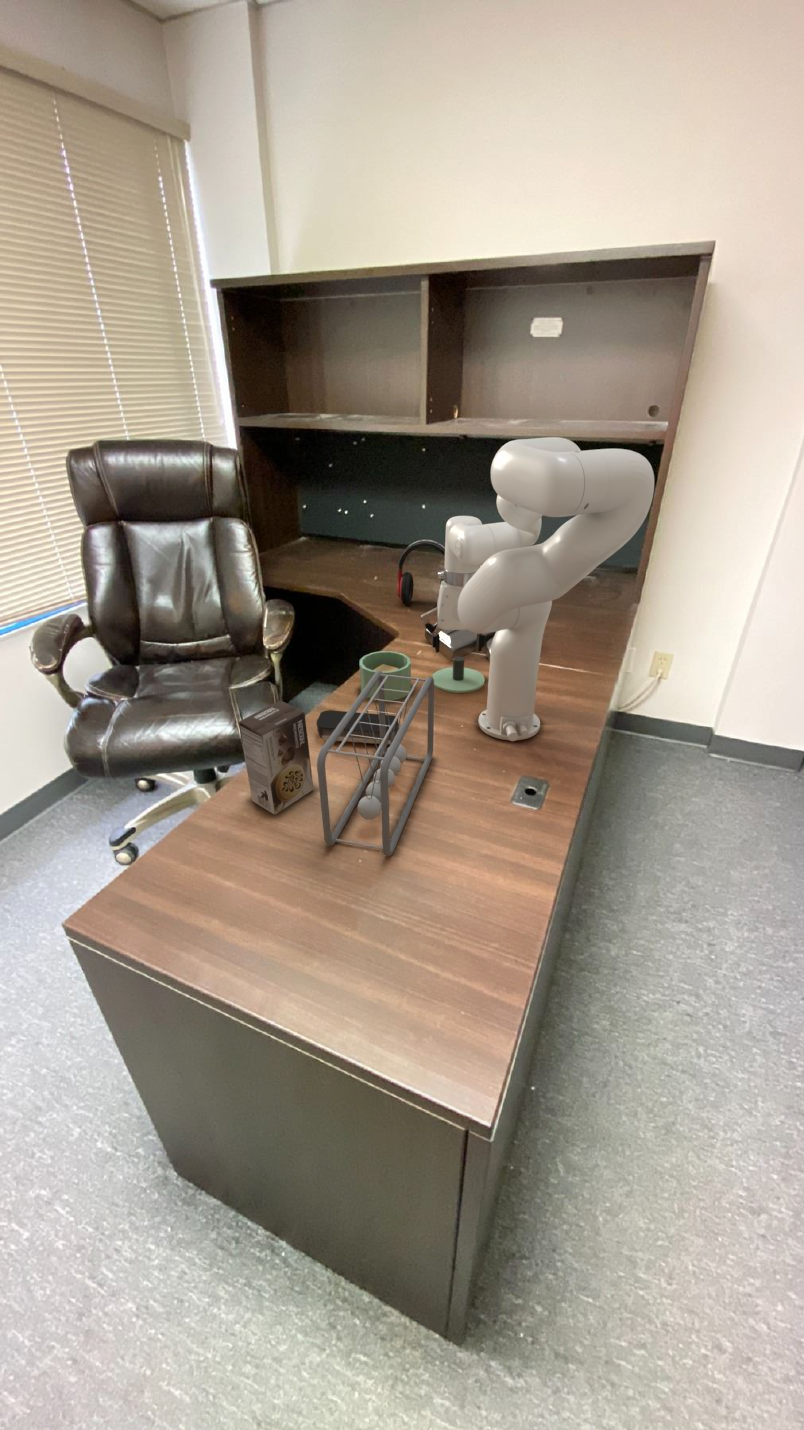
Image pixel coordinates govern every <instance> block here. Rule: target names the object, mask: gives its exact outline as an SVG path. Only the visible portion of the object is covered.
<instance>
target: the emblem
mask: <svg viewBox="0 0 804 1430" xmlns="http://www.w3.org/2000/svg"><path fill="white" fill-rule="evenodd" d="M432 625H433V626H434V625H435V624H432ZM495 633H496V631H495V632H490V633H487V634H486V635H485V642H484V646H482V648H484V647H485V655H486V658H487V659H488V662H490V654H491V645H492V641H493V638H494V636H495ZM439 636H440V646H439V653H441V654H442V656H443V657H445V658H446V659H447V660H449V662H453V658H454V657H463V658H464V657H465V656H467V655H469V654H471V653H473V652H476V651H478V649H477V647H476V643H477V634H476V633H472V632H470V631H469V630H443V629H442V631H441V632H440V633H439ZM432 637H433V635H432V634H431V633H430V632H429V631H428V630H427V629H426V628H425V630H424V638H425V640H426V641H427V642H428V643H429V644H430V645H432Z"/></svg>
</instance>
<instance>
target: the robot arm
mask: <svg viewBox="0 0 804 1430" xmlns="http://www.w3.org/2000/svg"><path fill="white" fill-rule="evenodd" d="M490 482H491V485H492V488H493V490H494V491H495V493H496V494H497V495H496V508H497V512H498V514H499V515H500V517H501V519H502V520H503V521H501V522H493V523H485V524H484V523H482V521H481V519H479V518H478V517H475V516H472V515H457V516H451V517H450V518H449V519H448V520H446V524H445V539H444V540H445V541H444V546H445V556H444V564H443V565H444V567H443V569H442V570H441V571H437V572H436V573H437V575H436V576H437V579H440V580H441V579H443V580H444V581H442V582H441V585H440V584H439V589H438V594H437V604H436V605H437V606H436V607H435V608H432V609H430V610H428V611H426V612H424V613H422V614H421V615H420V620H421V622H422V624H423V625H424V628H425V630H426V629H427V630H428V631H429V632H430V633H431V634H432V635H433V637H432V644H431V647H432V648H433V649H434V650H435V653H440V651H439V646H440V636H439V633H440V632H441V631H442V629H443V630H469V631H470V632H472V633H476V634H477V643H476V647H477V651H478V652H479V653H480V652H482V648H483V647H485V646H484V642H485V635H486V634H487V633H490V632H495V631H496V633H495V636H494V638H493V641H492V645H491V654H490V661H489V670H488V682H487V684H488V685H487V699H486V709H484V710H483V711H481V713H480V714H479V716H478V721H477V722H478V726H479V729H480V730H481V731H482V732H483V733H485V734H486V735H488V736H490V737H492V738H496V739H499V740H502V741H503V740H504V741H510V742H515V741H521V740H527V739H529V738H532V737H534V736H535V735H537V734H538V733H539V731H540V728H541V721H540V718H539V716H538V715H537V714H536V713H535V705H536V697H537V696H536V695H537V689H538V678H539V669H540V659H541V654H542V645H543V638H544V635H545V634H544V632H545V630H546V626H547V622H548V619H549V616H550V613H551V610H552V605H553V601H556V600H558V599H560V598H562V597H563V596H564V595H565V594H567V593H568V592H569V591H570V590H572V588H574V587H576V585H578V583H580V582H581V581H583V580H584V579H585V578H586V577H587V576H588V575H590V574H591V573H592V572H593V571H594V570H595V569H596V568H597V567H599V566H600V565H602V563H603V562H605V561H606V560H607V559H609V558H610V557H612V556H613V555H614V554H615V553H617V552H618V551H619V550H620V549H621V548H622V547H624V546H625V545H626V544H627V543H628V542H629V541H631V539H632V538H633V537H634V535H636V533H638V530H639V529H640V528H641V526H642V525H643V523H645V522H644V521H645V520H646V518H647V516H648V513H649V511H650V509H651V505H652V502H653V497H654V493H655V492H654V491H655V474H654V469H653V467H652V465H651V463H650V461H649V460H648V459H647V458H646V457H645V456H644V455H642V454H641V453H639V452H637V451H633V450H631V449H626V448H625V449H624V448H600V449H588V450H587V449H586V450H581V449H580V447H579V446H578V445H577V444H576V443H575V442H574V441H572V440H571V439H568V438H564V437H559V436H558V437H557V436H552V437H549V436H548V437H536V438H519V439H514V440H510V441H508V442H506V443H505V444H504V445H501V447H500V448H499V449H498V450H497V452H496V453H495V455H494V457H493V459H492V462H491V465H490ZM542 517H549V518H563V517H565V518H566V517H572V518H570V519H568V520H567V521H566V522H564V523H563V524H562V525H560V526H559V528H557V530H556V531H555V532H554V533H553V534H552V535H551V536H549V538H547V539H546V540H544V541H543V542H542V543H539V544H536V542H537V541H538V539H539V537H540V534H541V530H542V522H543V521H542ZM434 617H436V623H434V624H432V623H431V622H430V621H429V620H430V619H432V618H434ZM433 625H434V626H433ZM482 646H483V647H482Z"/></svg>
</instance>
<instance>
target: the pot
mask: <svg viewBox="0 0 804 1430" xmlns="http://www.w3.org/2000/svg"><path fill="white" fill-rule="evenodd" d="M382 664H385V665H389V666H392V667H396V668H399V669H398V670H393V671H382V673H383V674H386V675H395V676H404V677H412V662H411V658H410V656H408V655H407V654H406V653H405V654H404V653H402V652H399V651H391V650H379V651H374V652H370V653H368V654H365V655H363V656H362V657H361V658H360V659H359V679H360V681H359V683H360V693H361V692H362V691H363V689H364V688H365V686H366V685H367V684H368V682H369V681H370V679H371V678H372V677H373V675H374V674H375V673H376V672H377V671H375V670H374V669H376V668H377V667H379V666H381V665H382ZM384 679H385V677H384ZM377 689H378V681H377V682H376V684H375V685H374V686H373V688H372V689H371V691H370V692H369V694H368V695H367V697H366V698H365V700H368V699H369V700H370V699H371V698H372V697H373V695H374V694H375V692H376V691H377ZM385 689H389V690H385ZM411 689H412V680H411V679H402V678H393V677H388V678H387V680H386V681H385V683H384V693H385V700H387V701H386V702H391V701H398V700H400V699H403V698H405V697H407V696H408V694H409V692H410V691H411ZM393 690H398V691H393ZM402 691H406V692H402ZM374 699H379V695H378V693H377V695H376V696H375V698H374ZM377 701H378V702H379V700H377Z"/></svg>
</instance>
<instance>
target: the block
mask: <svg viewBox="0 0 804 1430" xmlns="http://www.w3.org/2000/svg"><path fill="white" fill-rule="evenodd" d="M398 669H399V668H396V667H392V666H389V665H385V664H382V665H381V666H379V667H377V668H376V669H374V670H375V671H393V670H398Z"/></svg>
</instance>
